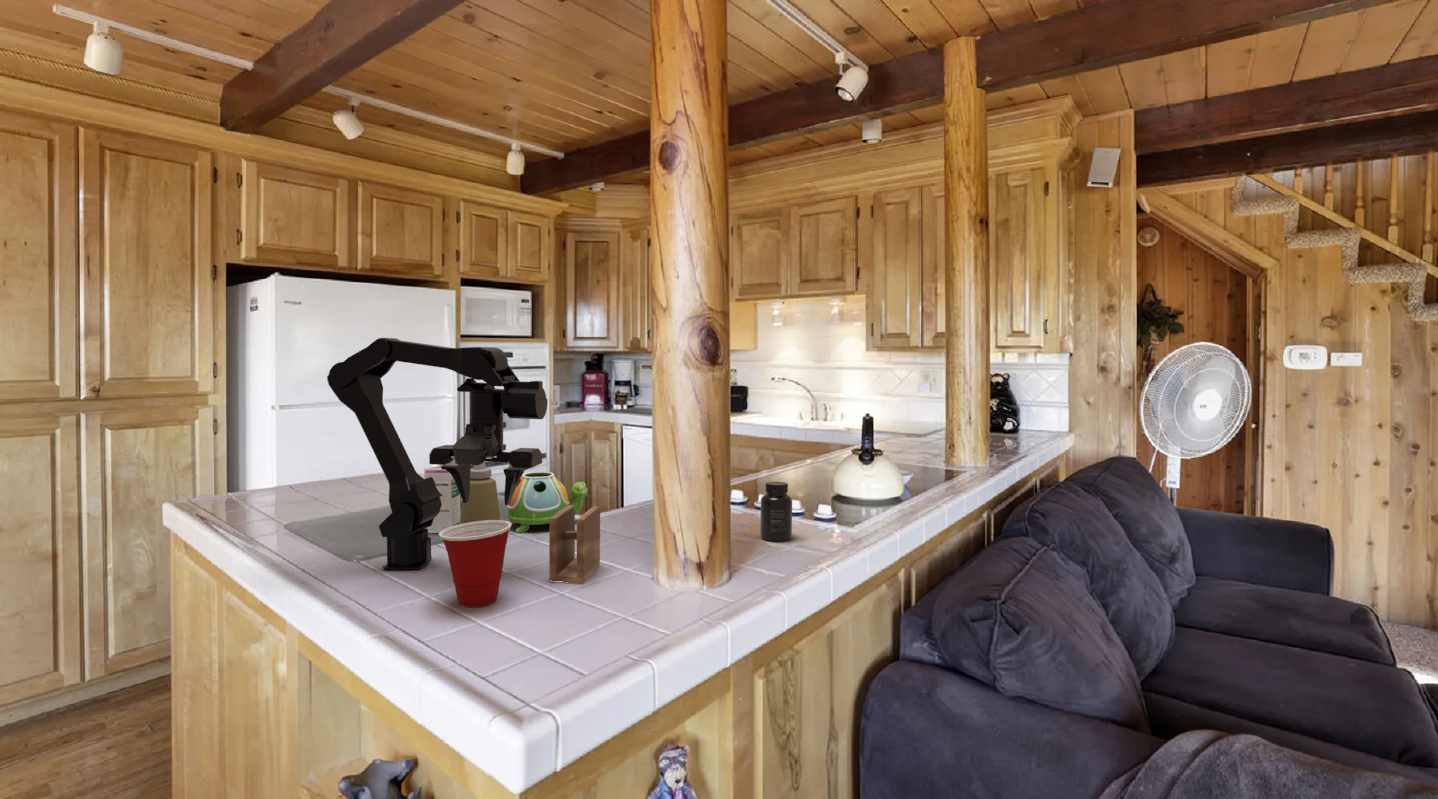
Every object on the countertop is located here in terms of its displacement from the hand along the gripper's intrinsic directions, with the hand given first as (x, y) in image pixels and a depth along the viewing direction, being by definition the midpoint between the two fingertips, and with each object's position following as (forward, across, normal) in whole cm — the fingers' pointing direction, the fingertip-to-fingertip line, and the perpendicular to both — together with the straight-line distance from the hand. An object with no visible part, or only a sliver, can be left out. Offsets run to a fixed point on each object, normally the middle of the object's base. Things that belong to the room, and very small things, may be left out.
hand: (486, 503), depth 121 cm
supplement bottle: (+12, +52, +29) cm, 60 cm away
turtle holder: (+12, 0, +31) cm, 34 cm away
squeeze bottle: (+12, -11, +20) cm, 26 cm away
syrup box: (+12, -20, +24) cm, 33 cm away
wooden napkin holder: (+12, +17, 0) cm, 20 cm away
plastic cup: (+12, +5, -15) cm, 20 cm away
